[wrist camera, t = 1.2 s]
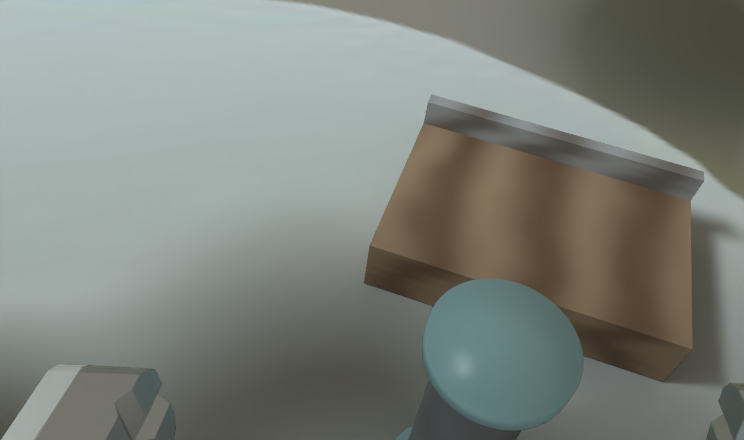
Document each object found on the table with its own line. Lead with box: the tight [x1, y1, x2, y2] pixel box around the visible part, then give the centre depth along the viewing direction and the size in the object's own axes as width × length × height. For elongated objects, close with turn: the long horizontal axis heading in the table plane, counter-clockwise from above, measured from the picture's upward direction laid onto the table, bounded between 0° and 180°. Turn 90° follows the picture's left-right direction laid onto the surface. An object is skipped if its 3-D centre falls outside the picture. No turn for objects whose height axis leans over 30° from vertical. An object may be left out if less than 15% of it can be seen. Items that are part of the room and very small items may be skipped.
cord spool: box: [395, 278, 584, 440], centre depth 30 cm, size 6×6×14 cm
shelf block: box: [364, 95, 704, 382], centre depth 44 cm, size 20×14×6 cm
